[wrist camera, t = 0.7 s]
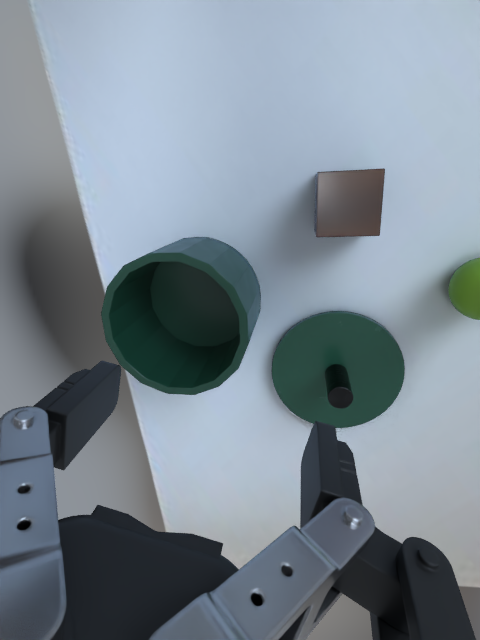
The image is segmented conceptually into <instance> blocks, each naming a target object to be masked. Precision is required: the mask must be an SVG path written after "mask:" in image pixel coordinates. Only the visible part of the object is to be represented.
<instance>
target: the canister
mask: <svg viewBox="0 0 480 640" xmlns="http://www.w3.org/2000/svg"><path fill="white" fill-rule="evenodd" d="M260 300H261V295H260V286H259V283H258V280H257V277H256V274H255V272H254V271H253V269H252V267H251V265H250V264H249V263H248V261H247V260H246V259H245V258H244V257H243V256H242V255H241V254H240V253H239V252H238V251H237V250H235V249H234V248H232V247H231V246H229V245H228V244H226V243H223V242H221V241H218V240H215V239H211V238H208V237H193V238H183V239H181V240H179V241H176V242H174V243H172V244H169V245H167V246H165V247H162V248H160V249H158V250H156V251H153V252H151V253H149V254H147V255H145V256H142V257H140V258H138V259H136V260H134V261H132V262H130V263H128V264H126V265H125V266H123V267H122V269H121V270H120V271H119V272H118V274H117V275H116V276H115V277H114V279H113V280H112V281H111V283H110V284H109V285H108V286H107V290H106V294H105V299H104V303H103V307H102V312H101V316H102V322H103V327H104V333H105V338H106V342H107V343H108V345H109V347H110V348H111V350H112V352H113V354H114V355H115V357H116V359H117V360H118V362H119V364H120V365H121V366H122V367H123V368H124V369H125V370H127V371H128V372H129V373H130V374H131V375H132V376H134V377H135V378H136V379H137V380H138V381H139V382H141V383H142V384H145V385H147V386H150V387H152V388H155V389H157V390H160V391H162V392H165V393H168V394H185V395H195V394H198V393H201V392H204V391H207V390H210V389H213V388H216V387H219V386H220V385H221V384H222V383H223V382H224V381H226V380H227V379H228V378H229V377H230V376H231V375H232V374H233V373H234V372H235V371H236V370H238V368H239V366H240V364H241V361H242V359H243V356H244V354H245V351H246V349H247V346H248V344H249V341H250V338H251V335H252V332H253V329H254V327H255V324H256V321H257V318H258V315H259V312H260Z"/></svg>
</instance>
